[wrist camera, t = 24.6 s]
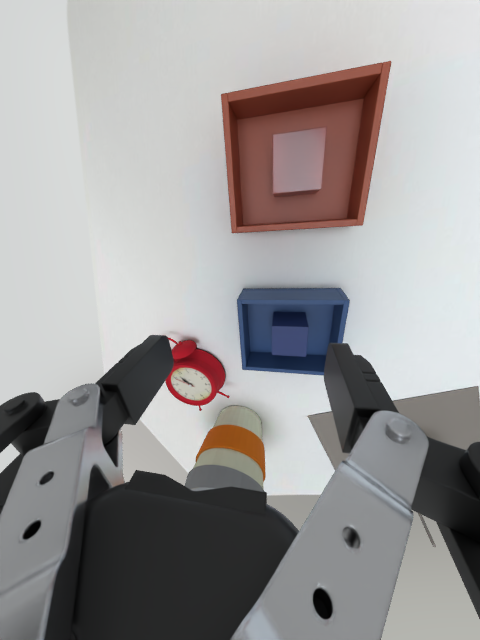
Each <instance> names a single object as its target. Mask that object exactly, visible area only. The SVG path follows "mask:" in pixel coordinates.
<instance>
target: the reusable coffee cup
mask: <svg viewBox="0 0 480 640" xmlns="http://www.w3.org/2000/svg"><path fill="white" fill-rule="evenodd" d="M264 480H265V451H264V445H263V442H262V427H261V420H260V418H259V416H258V415H257V414H256V413H255V412H254V411H252V410H250V409H248V408H246V407H242V406H229V407H226V408H224V409H223V410H222V411H221V412H220V414H219V417H218V419H217V421H216V423H215V425H214V427H213V428H212V429H211V430H210V431H209V432H208V434H207V436H206V438H205V440H204V442H203V444H202V446H201V448H200V450H199V452H198V454H197V456H196V464H195V466H194V468H193V469H192V470H191V471H190V472H189V474H188V476H187V480H186V483H185V487H187V488H189V489H190V490H193V491H202V490H209V489H216V488H223V487H231V486H232V487H238V488H244V489H250V490H256V491H261V492H264V490H263V482H264Z"/></svg>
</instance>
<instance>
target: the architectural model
mask: <svg viewBox="0 0 480 640" xmlns="http://www.w3.org/2000/svg"><path fill="white" fill-rule="evenodd" d="M393 403H394V405H395V407H396V408H397V410H398V412H399V414H401V415H404V416H405V417H407V418H409V419H410V420H412V421H413V422H415V423H416V424H417V425H418V426H419V427H420V428H421V429H422V430H423V431H424V433H425V435H426V436H428V437H430V438H432V439H435V440H438V441H440V442H443V443H446V444H449V445H452V446H455V447H458V448H461V449H464V450H467V449H468V447H469V446H470V445H471V444H472V443H475V442H480V398H479V389H478V386H477V387H471V388H465V389H460V390H454V391H448V392H442V393H437V394H431V395H425V396H420V397H414V398H408V399H402V400H397V401H393ZM308 418H309V420H310V422H311V424H312V426H313V428H314V429H315V431H316V433H317V435H318V437H319V439H320V441H321V443H322V445H323V447H324V449H325V451H326V453H327V455H328V457H329V459H330V461H331V463H332V465H333V467H334V469H335V471H336V469H337V467H338V466H339V464H340V463H341V462H342V461H343V460H344V461H345V460H346V459H347V457H348V456H349V453H342V449H341V445H340V441H339V437H338V433H337V429H336V425H335V421H334V417H333V413H332V412H328V413H322V414H316V415H310V416H308ZM418 514H419V516H420V518H421V521H422V523H423V525H424V528H425V530H426V532H427V534H428V536H429V538H430V541H431V543H432V545H433V547H436V546H435V543H434V541H433V539H432V537H431V534H430V532H429V530H428V528H427V526H426V524H425V521H424V519H423V517H422V515H421V514H420V513H418Z"/></svg>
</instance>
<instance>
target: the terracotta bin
mask: <svg viewBox="0 0 480 640" xmlns="http://www.w3.org/2000/svg"><path fill="white" fill-rule="evenodd" d="M390 67H391V61H388V62H383V63H377V64H372V65H367V66H362V67H357V68H352V69H347V70H342V71H337V72H332V73H327V74H321V75H316V76H311V77H306V78H301V79H296V80H291V81H286V82H281V83H276V84H270V85H265V86H260V87H255V88H250V89H245V90H240V91H235V92H230V93H225V94H221V100H222V113H223V125H224V138H225V151H226V164H227V177H228V190H229V203H230V216H231V229H232V233H242V232H259V231H276V230H293V229H309V228H326V227H343V226H359V225H363V221H364V215H365V210H366V204H367V198H368V193H369V187H370V181H371V175H372V170H373V164H374V158H375V152H376V147H377V141H378V135H379V130H380V124H381V118H382V112H383V107H384V101H385V95H386V89H387V84H388V78H389V72H390ZM326 126H327V133H326V144H325V156H324V167H323V178H322V189H321V190H320V191H318V192H317V193H315V194H305V195H294V196H283V197H274V195H273V134H280V133H286V132H293V131H299V130H306V129H313V128H319V127H326Z"/></svg>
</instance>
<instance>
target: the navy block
mask: <svg viewBox="0 0 480 640" xmlns="http://www.w3.org/2000/svg"><path fill="white" fill-rule="evenodd" d="M308 329H309V326H308V322H307V317H306V313H305V312H273V321H272V355H283V356H301V357H306V352H307V341H308Z"/></svg>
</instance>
